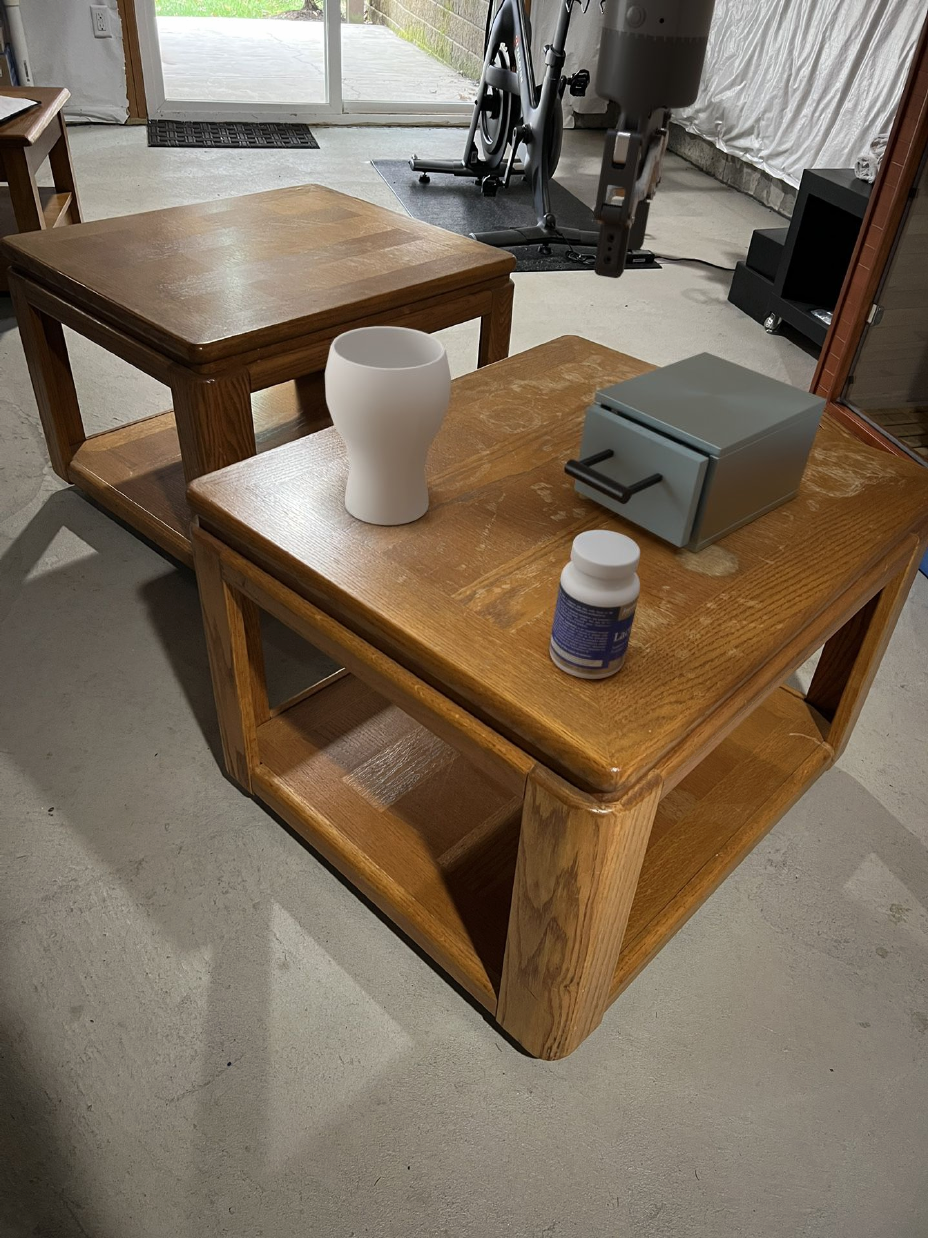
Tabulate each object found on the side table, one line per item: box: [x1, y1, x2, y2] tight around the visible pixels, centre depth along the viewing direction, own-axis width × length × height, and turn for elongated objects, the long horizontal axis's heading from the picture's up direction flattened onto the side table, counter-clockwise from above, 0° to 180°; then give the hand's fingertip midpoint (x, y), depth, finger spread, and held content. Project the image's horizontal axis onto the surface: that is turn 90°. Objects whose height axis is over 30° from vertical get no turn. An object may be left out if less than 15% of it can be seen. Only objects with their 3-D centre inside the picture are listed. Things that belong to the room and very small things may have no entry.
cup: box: [324, 325, 452, 526], centre depth 82 cm, size 11×11×15 cm
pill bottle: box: [549, 529, 641, 680], centre depth 67 cm, size 6×6×10 cm
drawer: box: [563, 404, 711, 548], centre depth 85 cm, size 21×13×8 cm, turn 132°
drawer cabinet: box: [593, 351, 828, 554], centre depth 88 cm, size 17×14×10 cm
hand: (619, 260), depth 75 cm, fingers open, 8 cm apart
